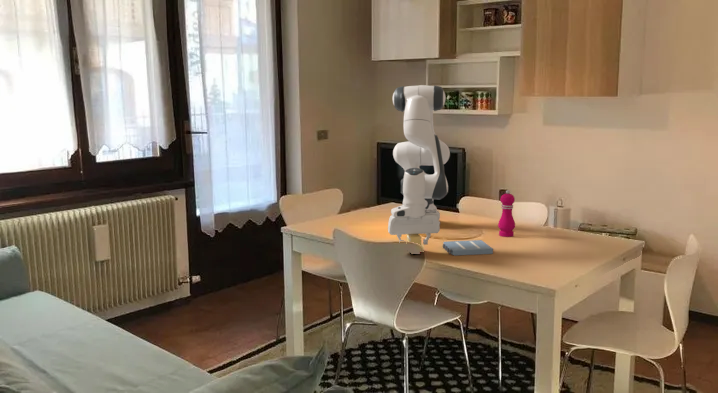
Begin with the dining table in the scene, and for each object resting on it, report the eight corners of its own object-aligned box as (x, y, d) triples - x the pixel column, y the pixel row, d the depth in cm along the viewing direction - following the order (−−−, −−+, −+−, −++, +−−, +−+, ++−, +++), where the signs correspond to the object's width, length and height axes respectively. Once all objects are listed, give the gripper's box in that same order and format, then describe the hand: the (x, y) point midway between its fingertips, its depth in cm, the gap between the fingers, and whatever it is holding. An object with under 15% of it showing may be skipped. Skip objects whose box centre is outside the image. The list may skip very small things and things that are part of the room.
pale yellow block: (406, 249, 265) (406, 232, 264) (416, 249, 265) (416, 232, 264) (410, 254, 257) (411, 237, 256) (421, 254, 258) (421, 236, 256)
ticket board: (441, 246, 270) (441, 241, 270) (481, 244, 272) (481, 239, 272) (451, 255, 256) (451, 250, 256) (492, 253, 259) (492, 248, 258)
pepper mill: (494, 234, 290) (496, 189, 287) (508, 232, 293) (510, 188, 289) (503, 237, 284) (505, 191, 280) (518, 236, 286) (519, 190, 282)
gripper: (437, 207, 263) (437, 241, 265) (387, 209, 260) (387, 243, 262) (442, 210, 257) (441, 245, 259) (390, 212, 254) (390, 247, 256)
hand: (413, 244), depth 261 cm, fingers open, 8 cm apart
